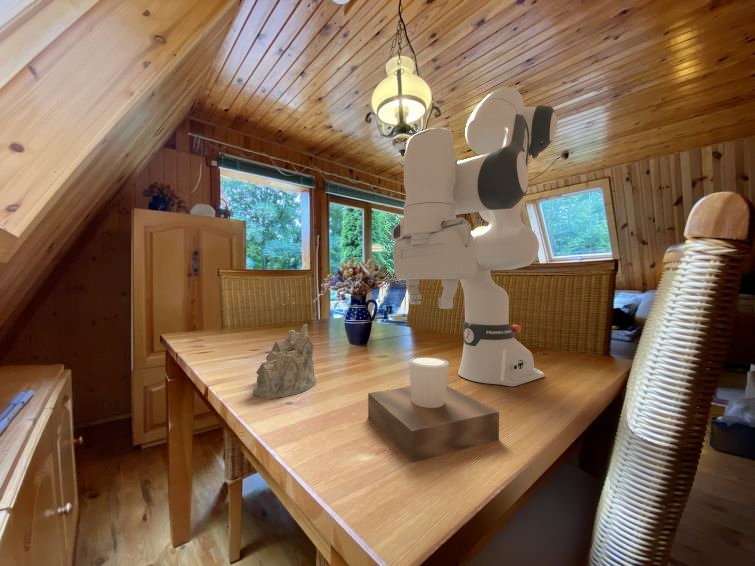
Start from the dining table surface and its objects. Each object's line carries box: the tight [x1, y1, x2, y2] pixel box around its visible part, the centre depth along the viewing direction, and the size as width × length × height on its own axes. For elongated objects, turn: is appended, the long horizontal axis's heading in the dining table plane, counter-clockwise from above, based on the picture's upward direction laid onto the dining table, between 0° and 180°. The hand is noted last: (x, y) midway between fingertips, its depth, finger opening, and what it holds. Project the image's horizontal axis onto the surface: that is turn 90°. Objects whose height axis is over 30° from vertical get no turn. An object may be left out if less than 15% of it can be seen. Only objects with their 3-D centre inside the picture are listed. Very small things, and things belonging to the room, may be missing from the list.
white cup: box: [408, 356, 450, 408], centre depth 54 cm, size 7×7×7 cm
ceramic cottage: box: [252, 323, 317, 400], centre depth 76 cm, size 16×16×15 cm
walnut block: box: [367, 385, 500, 464], centre depth 54 cm, size 16×16×5 cm
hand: (429, 306), depth 54 cm, fingers open, 8 cm apart
